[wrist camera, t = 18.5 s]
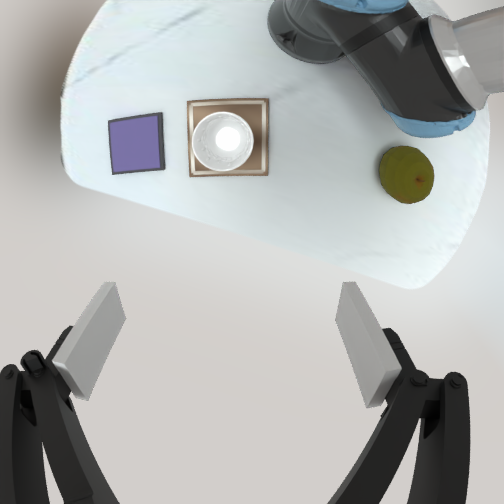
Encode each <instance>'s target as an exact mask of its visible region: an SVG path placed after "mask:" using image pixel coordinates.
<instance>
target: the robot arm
mask: <svg viewBox="0 0 504 504" xmlns="http://www.w3.org/2000/svg"><path fill="white" fill-rule="evenodd" d="M268 29H269V32H270V35H271V37H272V38H273V40H274V41H275V43H276V44H277V45H278V46H279V47H280V48H281V49H282V50H283V51H284V52H286V53H287V54H289V55H290V56H292V57H294V58H296V59H299V60H301V61H305V62H309V63H329V62H333V61H336V60H338V59H340V58H342V57H343V56H345V55H346V56H347V57H348V59H349V60H350V61H351V62H352V64H353V65H354V66H355V67H356V69H357V70H358V71H359V73H360V74H361V75H362V76H363V78H364V79H365V80H366V82H367V83H368V85H369V86H370V87H371V89H372V90H373V92H374V93H375V94H376V96H377V97H378V99H379V100H380V102H381V105H382V107H383V109H384V110H385V111H386V112H387V113H388V114H389V115H390V116H391V118H392V119H393V120H394V122H395V123H396V125H397V126H398V127H399V128H400V129H401V130H402V131H403V132H405V133H407V134H409V135H411V136H415V137H420V138H436V137H443V136H447V135H451V134H453V131H455V130H458V131H461V130H463V129H465V128H466V127H468V126H469V125H470V124H471V123H472V122H473V120H474V118H475V115H476V110H481V109H483V108H484V105H485V103H486V100H487V98H488V96H489V95H490V94H492V93H499V92H504V6H503V7H499V8H495V9H492V10H488V11H485V12H482V13H478V14H475V15H472V16H469V17H466V18H463V19H460V20H457V21H450V20H448V19H445V18H443V17H441V16H438V15H431V16H429V17H427V18H424V19H422V18H421V16H420V15H419V14H418V13H417V11H416V10H415V9H414V8H413V6H412V5H411V4H410V3H409V0H275V1H274V2H273V3H272V5H271V7H270V10H269V14H268ZM125 319H126V317H125V314H124V311H123V308H122V304H121V301H120V298H119V294H118V291H117V287H116V283H115V282H104V283H103V285H102V286H101V287H100V289H99V290H98V292H97V293H96V294H95V296H94V297H93V299H92V300H91V301H90V303H89V305H88V306H87V307H86V309H85V310H84V311H83V313H82V314H81V316H80V317H79V319H78V321H77V322H76V324H75V325H74V326H69V327H68V328H67V329H65V330H64V331H63V332H62V334H61V335H60V337H59V339H58V340H57V341H56V344H55V345H54V346H53V348H52V349H51V351H50V353H49V354H48V356H47V357H46V359H44V358H43V356H42V354H41V352H39V351H37V350H31V351H29V352H27V353H26V354H25V355H24V356H23V357H22V359H21V365H22V367H23V368H24V370H25V371H19V369H18V368H17V366H16V365H14V364H9V365H7V366H5V367H4V368H3V369H2V371H1V373H0V504H50V502H49V497H48V491H47V485H46V478H45V471H44V460H43V448H42V442H43V446H44V449H45V452H46V455H47V458H48V461H49V464H50V467H51V470H52V473H53V476H54V478H55V481H56V483H57V486H58V488H59V490H60V493H61V495H62V498H63V500H64V504H120V503H119V502H118V501H117V498H116V497H115V495H114V493H113V492H112V490H111V488H110V487H109V485H108V483H107V481H106V479H105V477H104V475H103V474H102V472H101V470H100V468H99V466H98V464H97V462H96V460H95V457H94V455H93V453H92V451H91V449H90V447H89V444H88V442H87V440H86V437H85V435H84V433H83V430H82V428H81V425H80V423H79V420H78V417H77V415H76V412H75V409H74V406H73V403H72V400H71V399H70V397H69V395H70V392H71V391H72V393H73V394H74V395H75V397H76V398H79V399H82V400H86V401H88V400H89V398H90V395H91V393H92V390H93V388H94V385H95V383H96V381H97V379H98V377H99V374H100V372H101V370H102V368H103V365H104V363H105V361H106V359H107V357H108V355H109V352H110V350H111V348H112V346H113V344H114V342H115V340H116V338H117V336H118V334H119V332H120V330H121V328H122V326H123V324H124V321H125ZM335 321H336V323H337V326H338V328H339V331H340V334H341V337H342V339H343V342H344V344H345V347H346V350H347V353H348V355H349V358H350V361H351V364H352V367H353V370H354V373H355V375H356V378H357V381H358V384H359V387H360V390H361V393H362V396H363V399H364V402H365V405H366V408H371V407H376V406H381V405H382V403H383V401H384V399H386V402H387V404H388V405H387V407H386V408H385V410H384V412H383V413H382V415H381V419H380V421H379V423H378V424H377V426H376V428H375V430H374V432H373V434H372V436H371V437H370V439H369V441H368V443H367V444H366V446H365V448H364V450H363V451H362V453H361V455H360V456H359V458H358V460H357V461H356V463H355V464H354V466H353V468H352V469H351V471H350V472H349V474H348V475H347V477H346V478H345V480H344V481H343V483H342V484H341V486H340V487H339V488H338V490H337V491H336V493H335V494H334V495H333V497H332V498H331V499H330V501H329V502H328V504H379V502H380V501H381V499H382V498H383V495H384V494H385V492H386V490H387V489H388V486H389V485H390V483H391V481H392V479H393V477H394V475H395V473H396V471H397V469H398V467H399V465H400V463H401V461H402V459H403V457H404V455H405V452H406V450H407V448H408V445H409V443H410V441H411V438H412V436H413V433H414V431H415V428H416V425H417V423H418V420H419V418H421V425H420V435H419V443H418V451H417V457H416V463H415V470H414V475H413V480H412V485H411V489H410V494H409V498H408V502H407V504H465V503H466V496H467V488H468V478H469V465H470V410H469V397H468V385H467V381H466V379H465V378H464V376H463V375H461V374H460V373H457V372H450V373H448V374H447V375H446V376H445V378H444V379H433V378H429V376H428V375H427V374H426V373H424V372H423V371H420V370H417V369H416V367H415V365H414V363H413V362H412V360H411V358H410V356H409V354H408V352H407V350H406V349H405V347H404V345H403V343H401V340H400V338H399V336H398V334H396V332H394V331H393V330H392V329H391V328H386V329H381V327H380V325H379V323H378V321H377V319H376V317H375V316H374V314H373V312H372V310H371V308H370V307H369V305H368V303H367V301H366V299H365V298H364V296H363V294H362V293H361V291H360V289H359V287H358V286H357V284H356V282H343V285H342V290H341V295H340V300H339V305H338V310H337V314H336V319H335Z"/></svg>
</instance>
